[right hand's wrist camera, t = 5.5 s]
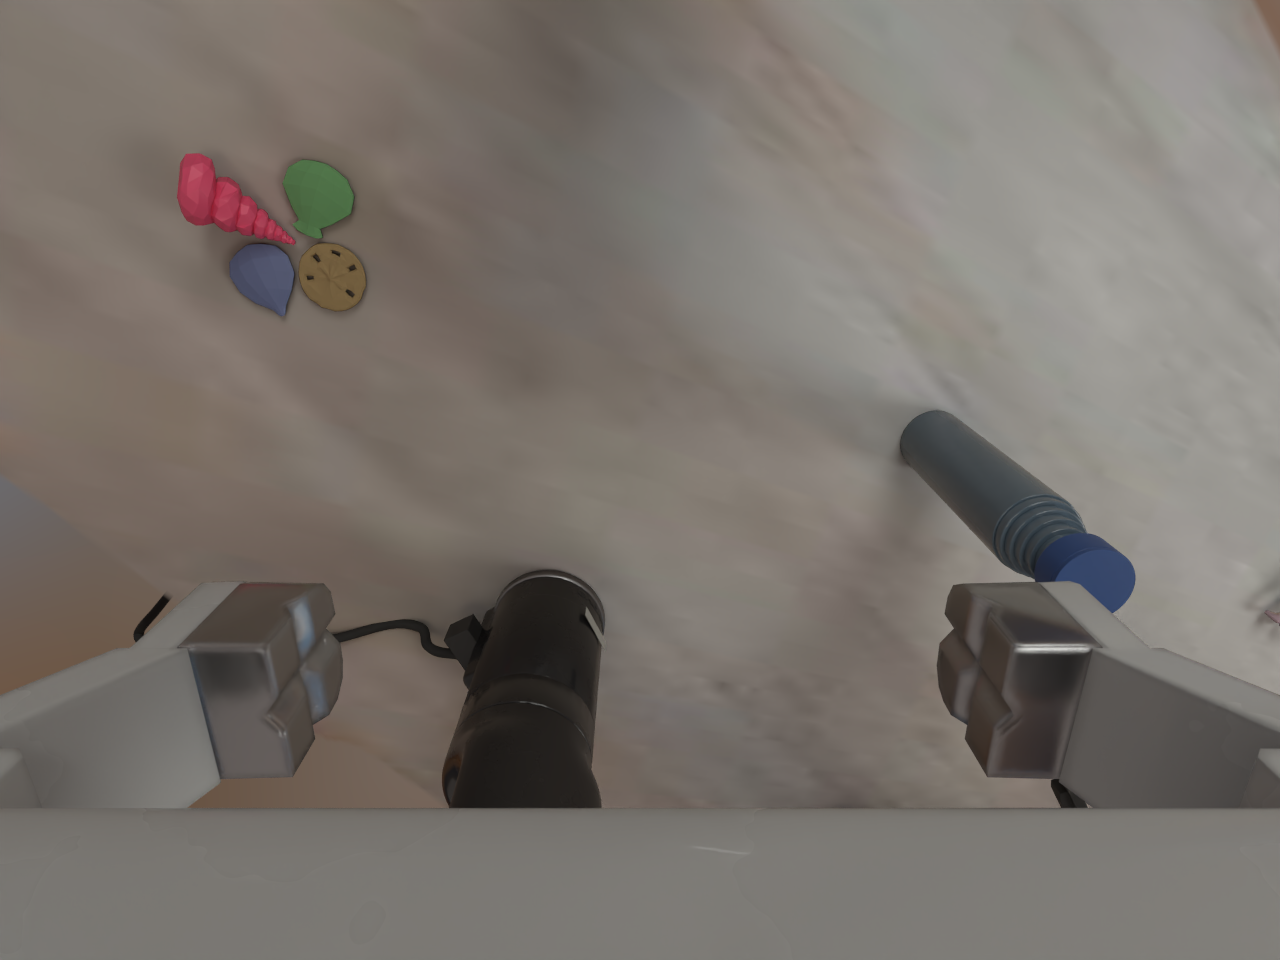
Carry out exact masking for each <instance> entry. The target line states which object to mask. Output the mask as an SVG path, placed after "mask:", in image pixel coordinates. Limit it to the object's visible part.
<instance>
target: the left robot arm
mask: <svg viewBox="0 0 1280 960" xmlns="http://www.w3.org/2000/svg"><path fill="white" fill-rule="evenodd" d="M170 600H171V598H170V597H168V596H167V595H165V594H164V595H163V596H162V597H161V598H160V600H159V601H158V602H157V603H156V604H155V606H154V607H153V608H152V609H151V610H150V612H149V613H148V614H147V615H146V616H145V617H144V618H143V619H142V620H141V621H140V623H139V624H138V625H137V627H136V629H135V630H134V634H133V635H134V640H135V642H137V641H138V640H139V639H140V638H142V637H143V636H144V632H145V630H146V629H147V627H148V626H149V625H150V624H151V623H152V622H153V620H154V619H155V618H156V617H157V616H158V615H159V613H160V612H161V611H162V610H163V608H164V607H165V606H166V605H167V603H168V602H169V601H170ZM604 625H605V615H604V610H603V606H602V604H601V601H600V599H599V598H598V596H597V595H596V593H595V592H594V591H593V590H592V588H591V587H589V586H588V585H587V584H586V583H585V582H583V581H582V580H580V579H579V578H577V577H575V576H573V575H570V574H567V573H564V572H560V571H554V570H541V571H535V572H531V573H527V574H525V575H522V576H520V577H518V578H517V579H515V580H514V581H512V582H511V583H510V584H509V585H508V586H507V587H506V588H505V589H504V590H503V591H502V593H501V594H500V596H499V598H498V600H497V603H496V606H495V607H494V608H493V609H491V610H489V611H487V612H486V614H485V617H484V620H483V623H482V626H481V624H480V623H479V621H478V620H477V619H476V617H475V616H474V614H472V615H470V616H468V617H466V618H464V619H462V620H460V621H457V622H455V623H453V624H451V625H450V627H449V629H448V632H447V634H446V637H445V639H444V642H445V643H446V644H447V646H448V647H449V648H450V649H449V648H442V647H438V646H436V645H434V644H432V642H431V639H430V632H429V629H428V627H427V626H426V625H424V624H423V623H420V622H417V621H414V620H394V621H388V622H382V623H376V624H371V625H367V626H363V627H360V628H356V629H353V630H350V631H346V632H342V633H338V634H333V636H334V637H335V638H336V639H337V640H338V642H343V641H347V640H351V639H354V638H358V637H361V636H364V635H367V634H371V633H374V632H378V631H382V630H387V629H394V628H406V629H412V630H414V631H417V632H419V633H420V636H421V644H422V646H423V648H424V649H425V650H426V651H427V652H429V653H430V654H432V655H434V656H437V657H442V658H451V659H457V660H458V661H459V662H460V664H461V665H462V667H463V668H464V669H465V674H464V677H463V681H464V684H465V685H466V687H467V688H468V690H469V691H468V694H467V697H466V700H465V703H464V706H463V709H462V712H461V715H460V718H459V721H458V724H457V727H456V730H455V733H454V736H453V739H452V741H451V744H450V747H449V750H448V753H447V756H446V759H445V762H444V767H443V772H442V786H443V792H444V796H445V798H446V801H447V803H448V805H449V808H602V805H601V797H600V792H599V789H598V786H597V783H596V780H595V777H594V775H593V773H592V770H591V769H592V757H593V745H594V733H595V732H594V731H595V719H596V707H597V695H598V683H599V671H600V659H601V647H602V646H603V648H604V650H605V652H606V644H607V643H606V641H605V639H604V637H603V634H604ZM1059 780H1060V779H1053V780H1051V788H1052V790H1053V792H1054V794H1055V796H1056V798H1057V800H1058V802H1059V804H1060V806H1061V808H1088V807H1087V805H1086V803H1085V801H1084V800H1082V799H1081V798H1080V797H1078V796H1077V795H1076V794H1074V793H1073V792H1072V791H1070V790H1069V789H1067V788H1066V787H1065V786H1063V785H1062V784H1061V783H1059Z"/></svg>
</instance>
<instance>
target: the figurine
mask: <svg viewBox="0 0 1280 960" xmlns="http://www.w3.org/2000/svg"><path fill="white" fill-rule="evenodd" d="M1264 613H1265V614H1266V615H1267V616H1268V617H1270V618H1271V619H1272V620H1273V621H1275V622H1276V623H1279V626H1280V613H1274V612H1270V611H1268V610H1267V611H1265V612H1264Z"/></svg>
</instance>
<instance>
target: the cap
mask: <svg viewBox="0 0 1280 960" xmlns="http://www.w3.org/2000/svg"><path fill="white" fill-rule="evenodd" d="M1034 576H1035V582H1059V581H1071V582H1074V583H1078V584H1080V585H1081V586H1082V587H1084V588H1085V589H1086V590H1087V591H1088V592H1089V593H1090V594H1091V595H1092V596H1093V597H1095V598H1096V599H1097V600H1098V601H1099V602H1100V603H1101V604H1102V605H1103V606H1104V607H1106V608H1107V609H1108V610H1109V611H1110V612H1111V613H1114V612H1115V611H1116V610H1118V609H1119V608H1120V607H1121V606H1122V605H1123V604H1124V603H1125V602H1126V601H1127V600H1128V598H1129V597H1130V595H1131V593H1132V591H1133V588H1134V585H1135V571H1134V568H1133V566H1132V564H1131V562H1130V561H1129V560H1128V559H1127V558H1126V557H1125V556H1124V555H1122V554H1121V553H1120V552H1119V551H1117V550H1116V549H1115V548H1114V547H1112V546H1111V545H1110V544H1108V543H1107V542H1106V541H1105V540H1103V539H1102V538H1100V537H1098V536H1096V535H1093V534H1088V533H1075V534H1070V535H1067V536H1064V537H1061V538H1059V539H1057V540H1056V541H1054V542H1053V543H1051V544H1050V545H1049V546H1048V547H1047V548H1046V549H1045V550H1044V551H1043V552H1042V554H1041V555H1040V557H1039V558H1038V560H1037V563H1036V566H1035V572H1034Z"/></svg>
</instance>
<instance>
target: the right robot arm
mask: <svg viewBox="0 0 1280 960" xmlns="http://www.w3.org/2000/svg"><path fill="white" fill-rule="evenodd" d="M334 615H335V610H334V605H333V600H332V595H331V591H330V590H329V589H328V588H327V587H326V586H325V584H324V583H274V582H248V583H247V582H245V581H232V582H208V583H201V584H200V585H199V586H198V587H197V588H196V589H194V590H193V591H192V592H191V593H190V594H189V595H188V596H187V597H186V598H185V599H183V600H182V601H181V602H180V603H179V604H178V605H177V606H176V607H175V608H174V609H172V610H171V611H170V612H169V613H168V614H167V615H166V616H165V617H164V618H163V619H161V620H160V621H159V622H158V623H157V624H156V625H155V626H154V627H153V628H152V629H150V630H149V631H148V632H147V633H146V634H145V635H144V636H143V637H142V638H140V639H139V640H138V641H137V642H136V643H135V644H134V645H133V646H132V647H131V648H116V649H114V650H111V651H109V652H106V653H104V654H101V655H99V656H97V657H94V658H91V659H89V660H87V661H84V662H82V663H79V664H77V665H74V666H72V667H69V668H67V669H64V670H62V671H59V672H57V673H54V674H52V675H49V676H47V677H44V678H42V679H39V680H37V681H34V682H32V683H30V684H27V685H24V686H22V687H20V688H17V689H15V690H12V691H10V692H7V693H5V694H2V695H0V960H1280V695H1278V694H1275V693H1273V692H1270V691H1268V690H1265V689H1263V688H1260V687H1258V686H1255V685H1253V684H1250V683H1248V682H1245V681H1243V680H1240V679H1238V678H1236V677H1233V676H1231V675H1228V674H1226V673H1223V672H1221V671H1218V670H1216V669H1213V668H1211V667H1208V666H1206V665H1203V664H1201V663H1198V662H1196V661H1193V660H1191V659H1188V658H1186V657H1184V656H1181V655H1179V654H1176V653H1174V652H1171V651H1169V650H1166V649H1164V648H1149V647H1148V646H1147V645H1146V644H1145V643H1144V642H1143V641H1142V640H1141V639H1140V638H1138V637H1137V636H1136V635H1135V634H1134V633H1133V632H1132V631H1131V630H1130V629H1129V628H1128V627H1126V626H1125V625H1124V624H1123V623H1122V622H1121V621H1120V620H1119V619H1118V618H1117V617H1115V616H1114V615H1113V614H1112V613H1111V612H1110V611H1109V610H1108V609H1107V608H1106V607H1104V606H1103V605H1102V604H1101V603H1100V602H1099V601H1098V600H1097V599H1096V598H1095V597H1093V596H1092V595H1091V594H1090V593H1089V592H1088V591H1087V590H1086V589H1085V588H1084V587H1082V586H1081V585H1080V584H1078V583H1074V582H1071V581H1059V582H1012V583H970V584H958V585H953V587H952V589H951V591H950V593H949V595H948V598H947V604H946V609H945V615H946V617H947V618H948V620H949V621H950V623H951V624H952V626H953V628H954V629H953V630H952V631H951V632H950V633H949V634H948V635H947V636H946V637H945V638H944V639H943V640H942V642H941V643H940V645H939V653H938V660H937V673H938V684H939V689H940V692H941V695H942V698H943V701H944V703H945V705H946V707H947V709H948V710H949V712H950V714H951V715H952V716H954V717H955V718H957V719H958V720H960V721H962V722H963V723H965V724H966V725H967V730H966V735H965V740H966V742H967V743H968V745H969V747H970V748H971V750H972V752H973V754H974V755H975V757H976V759H977V760H978V762H979V764H980V765H981V767H982V769H983V770H984V772H985V774H986V776H987V777H1002V778H1039V779H1060V780H1059V783H1061V784H1062V785H1063V786H1065V787H1066V788H1067V789H1069V790H1070V791H1072V792H1073V793H1074V794H1076V795H1077V796H1078V797H1080V798H1081V799H1082V800H1084V801H1085V802H1086V803H1088V804H1089V805H1090V806H1092V807H1093V808H187V807H189V806H190V805H191V804H193V803H194V802H195V801H197V800H198V799H199V798H201V797H202V796H203V795H205V794H206V793H207V792H209V791H210V790H211V789H213V788H214V787H215V786H217V785H218V784H219V783H221V780H220V779H240V778H275V777H293V776H294V774H295V772H296V771H297V769H298V767H299V766H300V764H301V762H302V760H303V759H304V757H305V755H306V754H307V752H308V750H309V748H310V747H311V745H312V743H313V742H314V740H315V735H314V730H313V725H314V724H315V723H317V722H318V721H320V720H322V719H323V718H325V717H326V716H328V715H329V714H330V712H331V710H332V709H333V707H334V705H335V703H336V701H337V699H338V695H339V691H340V687H341V683H342V678H343V658H342V651H341V645H340V643H339V642H338V640H337V639H336V638H335V637H334V636H333V635H332V634H331V633H330V632H329V631H328V630H327V629H326V628H327V626H328V624H329V623H330V621H331V620H332V618H333V617H334Z"/></svg>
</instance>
